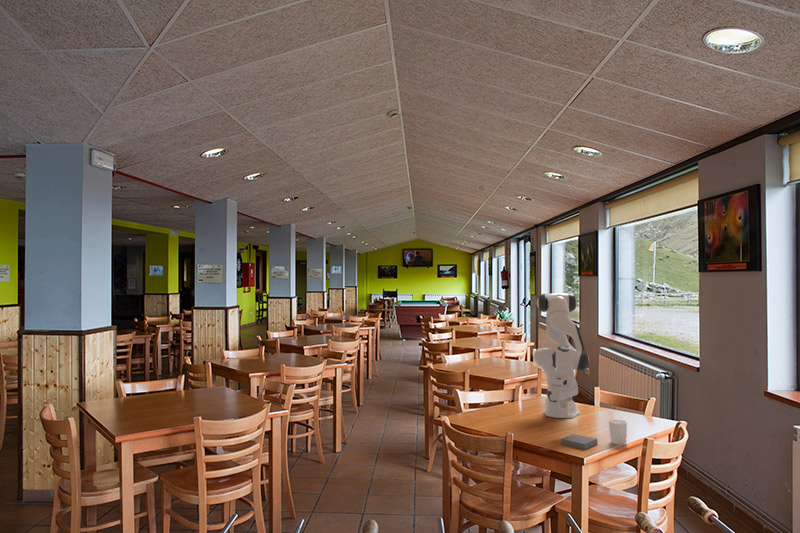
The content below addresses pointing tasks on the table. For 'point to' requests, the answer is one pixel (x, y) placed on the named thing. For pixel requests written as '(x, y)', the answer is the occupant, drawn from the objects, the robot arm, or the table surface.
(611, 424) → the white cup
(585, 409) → the table surface
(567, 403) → the cube
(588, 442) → the base
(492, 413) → the table surface
